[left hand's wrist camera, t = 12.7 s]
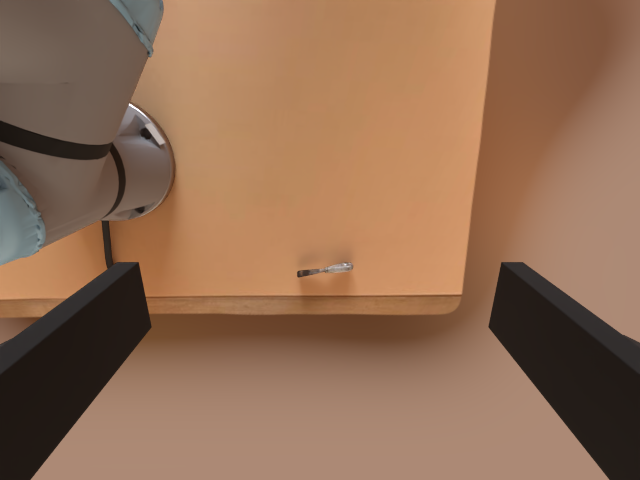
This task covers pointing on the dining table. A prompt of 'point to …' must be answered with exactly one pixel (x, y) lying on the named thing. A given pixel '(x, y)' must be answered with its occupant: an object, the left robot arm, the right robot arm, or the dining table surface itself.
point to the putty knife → (327, 269)
